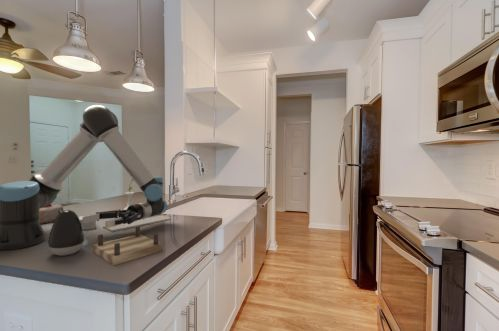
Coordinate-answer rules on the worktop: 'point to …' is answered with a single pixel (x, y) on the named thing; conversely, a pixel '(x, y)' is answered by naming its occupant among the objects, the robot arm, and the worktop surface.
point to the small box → (87, 224)
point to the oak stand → (127, 247)
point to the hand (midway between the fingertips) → (94, 222)
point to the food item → (49, 213)
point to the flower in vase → (129, 197)
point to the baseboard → (138, 223)
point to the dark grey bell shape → (66, 234)
